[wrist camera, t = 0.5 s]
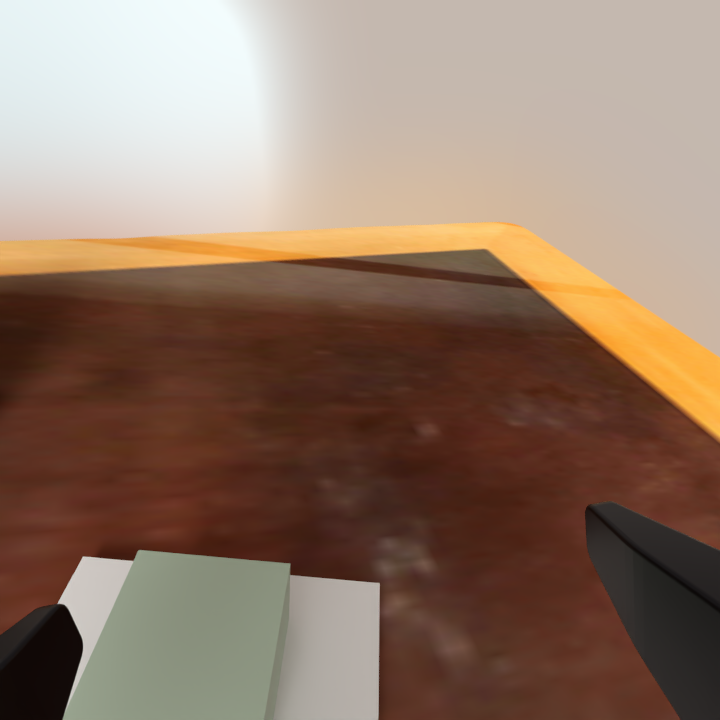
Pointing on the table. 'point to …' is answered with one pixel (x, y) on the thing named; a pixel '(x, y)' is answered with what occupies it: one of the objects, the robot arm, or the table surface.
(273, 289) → the table surface
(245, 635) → the green block
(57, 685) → the robot arm
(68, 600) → the pale grey board
